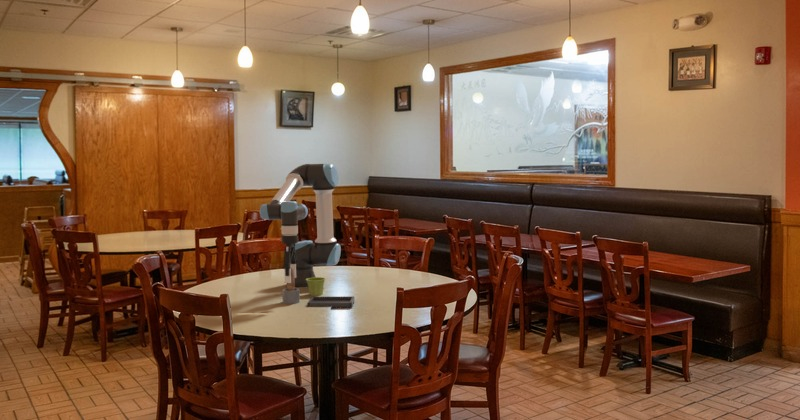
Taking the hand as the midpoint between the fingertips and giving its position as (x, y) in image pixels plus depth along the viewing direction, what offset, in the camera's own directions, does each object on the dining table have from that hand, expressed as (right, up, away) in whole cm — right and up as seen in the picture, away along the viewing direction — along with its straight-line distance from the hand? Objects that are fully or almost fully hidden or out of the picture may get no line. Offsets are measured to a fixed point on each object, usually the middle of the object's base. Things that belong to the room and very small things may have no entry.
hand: (290, 280), depth 313 cm
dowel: (0, -10, +1) cm, 10 cm away
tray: (+19, -11, -1) cm, 22 cm away
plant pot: (+9, -10, +19) cm, 23 cm away
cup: (0, -11, +1) cm, 11 cm away
